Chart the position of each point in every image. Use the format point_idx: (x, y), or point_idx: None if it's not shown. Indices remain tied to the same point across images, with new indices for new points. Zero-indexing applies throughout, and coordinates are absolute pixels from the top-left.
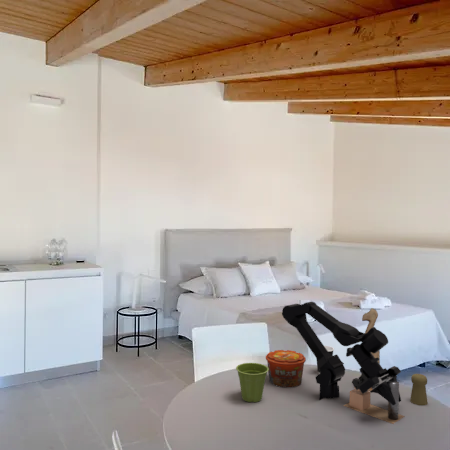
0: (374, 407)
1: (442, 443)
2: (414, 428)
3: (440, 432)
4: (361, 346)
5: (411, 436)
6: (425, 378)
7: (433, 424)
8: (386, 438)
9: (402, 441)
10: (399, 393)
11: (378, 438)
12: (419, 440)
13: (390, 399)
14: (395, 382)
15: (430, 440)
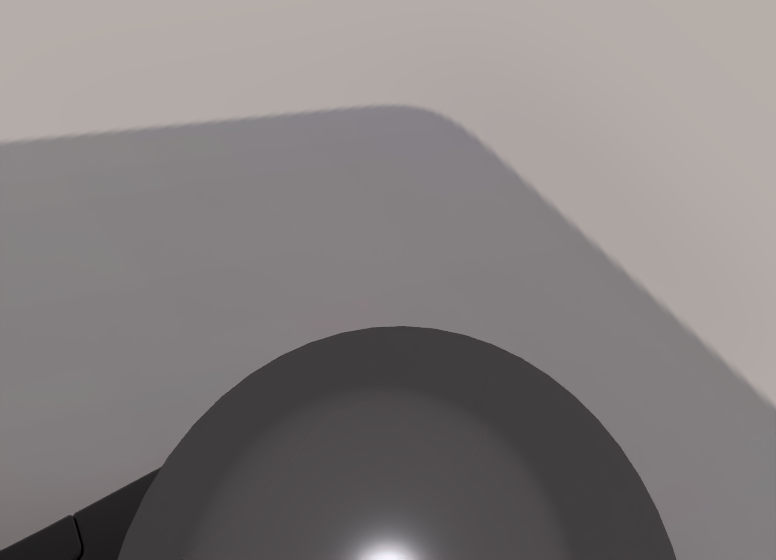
0: None
1: (421, 115)
2: (316, 317)
3: (251, 145)
4: None
5: (483, 296)
6: None
7: (117, 210)
8: (679, 446)
9: (614, 326)
10: (157, 470)
11: (738, 503)
12: (498, 235)
13: None
14: (380, 503)
15: (438, 178)
